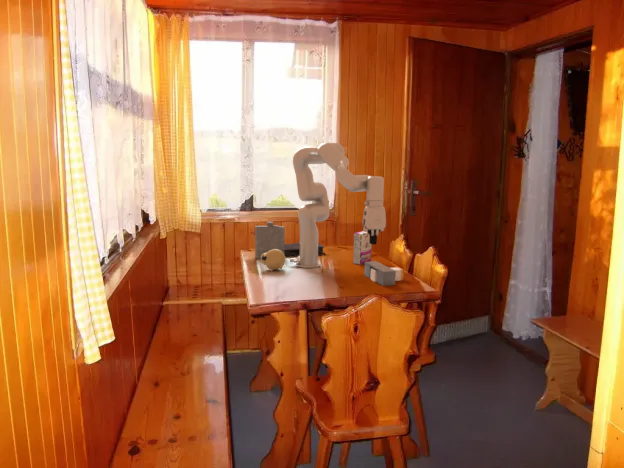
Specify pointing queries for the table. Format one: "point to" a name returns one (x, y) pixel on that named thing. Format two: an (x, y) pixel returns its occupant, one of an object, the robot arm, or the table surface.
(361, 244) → the candy bar box
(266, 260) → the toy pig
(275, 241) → the hip flask
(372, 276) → the white rectangular block
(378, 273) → the block
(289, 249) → the diary
